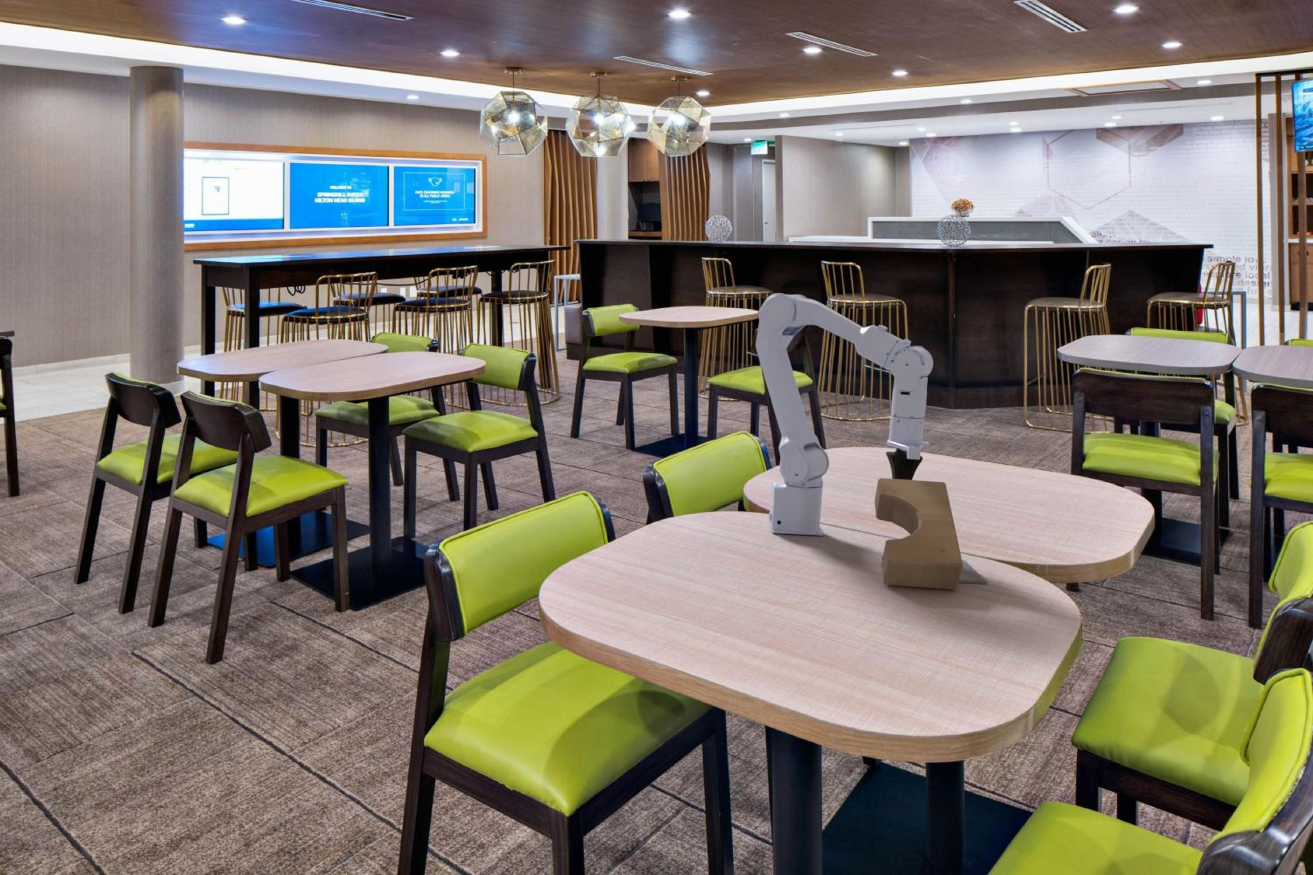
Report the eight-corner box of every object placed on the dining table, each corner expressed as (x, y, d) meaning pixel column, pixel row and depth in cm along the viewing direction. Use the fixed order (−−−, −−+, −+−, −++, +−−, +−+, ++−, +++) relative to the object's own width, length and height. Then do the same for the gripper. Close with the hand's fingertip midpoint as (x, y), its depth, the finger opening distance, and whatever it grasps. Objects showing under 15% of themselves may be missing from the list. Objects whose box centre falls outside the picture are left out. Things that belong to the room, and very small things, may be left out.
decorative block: (873, 501, 160) (882, 585, 144) (878, 475, 157) (888, 558, 141) (939, 507, 159) (956, 592, 143) (946, 481, 156) (964, 565, 140)
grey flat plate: (896, 578, 148) (896, 576, 148) (881, 558, 160) (881, 555, 160) (986, 584, 148) (986, 581, 148) (964, 562, 160) (965, 560, 160)
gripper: (941, 423, 157) (934, 503, 159) (920, 412, 171) (914, 486, 173) (898, 420, 157) (891, 500, 159) (881, 410, 171) (875, 484, 173)
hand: (900, 493), depth 166 cm, fingers closed
